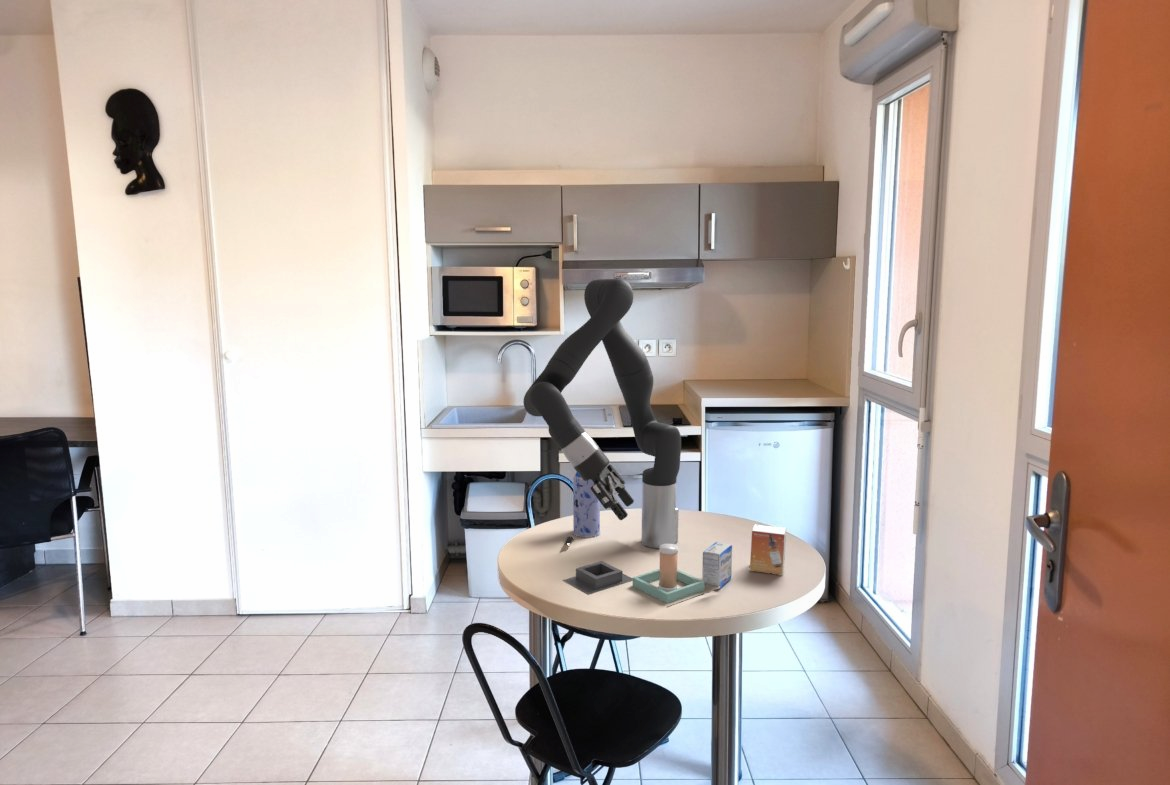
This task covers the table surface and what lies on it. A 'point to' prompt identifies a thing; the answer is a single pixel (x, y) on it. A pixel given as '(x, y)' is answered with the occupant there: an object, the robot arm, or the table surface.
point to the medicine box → (717, 564)
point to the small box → (768, 549)
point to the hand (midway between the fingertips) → (627, 510)
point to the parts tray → (692, 588)
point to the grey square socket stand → (597, 578)
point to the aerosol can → (585, 508)
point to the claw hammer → (565, 546)
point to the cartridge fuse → (668, 567)
